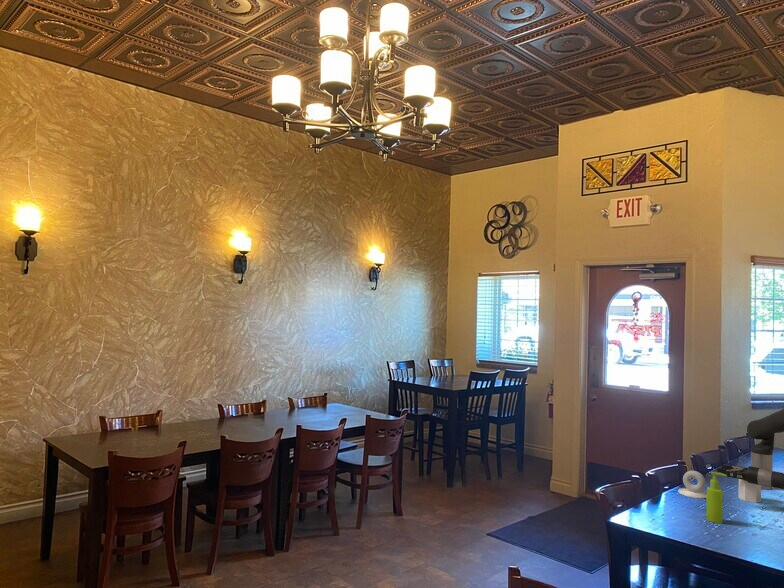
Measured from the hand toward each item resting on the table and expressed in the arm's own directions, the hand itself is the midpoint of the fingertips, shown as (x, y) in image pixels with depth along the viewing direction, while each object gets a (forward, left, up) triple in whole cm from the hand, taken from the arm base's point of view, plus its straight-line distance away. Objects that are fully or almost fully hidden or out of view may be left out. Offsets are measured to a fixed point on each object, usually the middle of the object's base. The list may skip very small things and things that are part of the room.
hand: (719, 468), depth 266 cm
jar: (-11, +10, -15) cm, 21 cm away
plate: (0, -11, -14) cm, 18 cm away
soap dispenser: (+33, +6, -15) cm, 37 cm away
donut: (0, -11, -13) cm, 17 cm away
